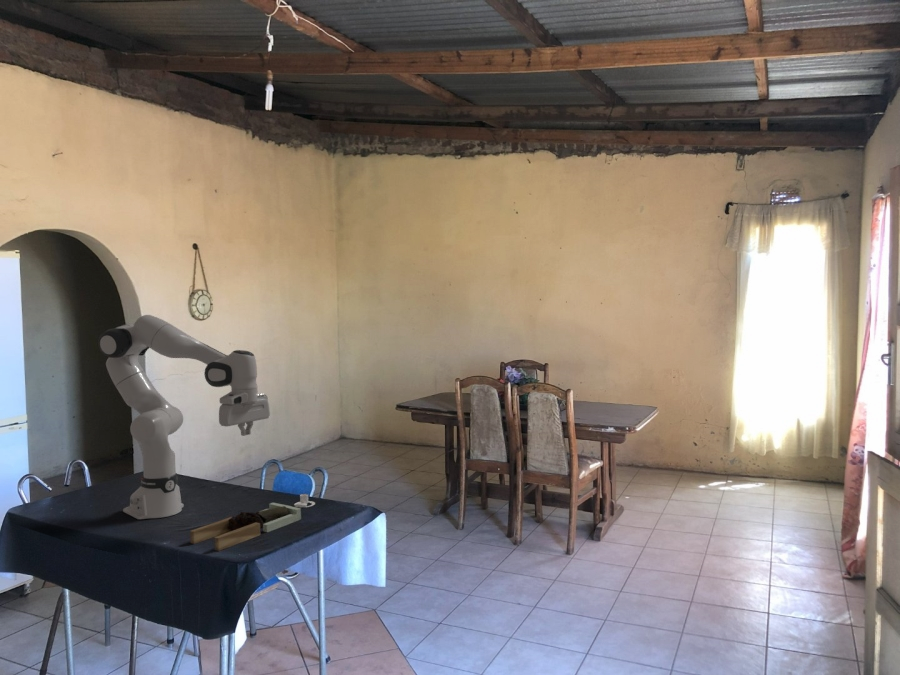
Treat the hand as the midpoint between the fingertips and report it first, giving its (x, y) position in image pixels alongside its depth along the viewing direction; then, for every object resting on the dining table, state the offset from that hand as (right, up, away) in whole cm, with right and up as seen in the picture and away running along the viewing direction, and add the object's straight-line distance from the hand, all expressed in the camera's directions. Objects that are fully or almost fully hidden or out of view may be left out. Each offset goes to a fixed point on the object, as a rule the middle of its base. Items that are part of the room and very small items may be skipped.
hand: (245, 434), depth 246 cm
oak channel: (-2, -32, -16) cm, 36 cm away
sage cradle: (+8, -31, -1) cm, 32 cm away
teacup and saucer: (+14, -31, +20) cm, 39 cm away
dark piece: (+6, -32, -4) cm, 33 cm away
